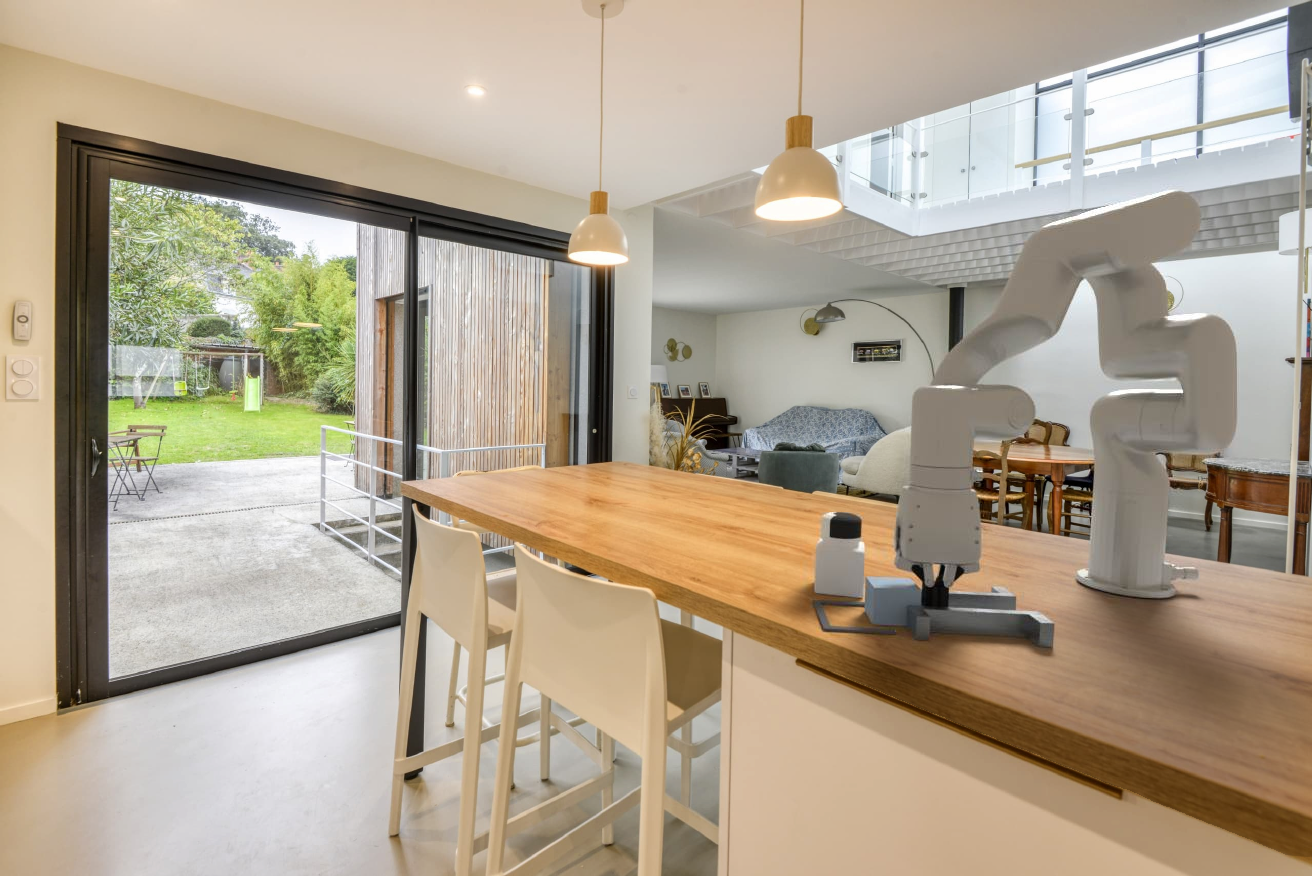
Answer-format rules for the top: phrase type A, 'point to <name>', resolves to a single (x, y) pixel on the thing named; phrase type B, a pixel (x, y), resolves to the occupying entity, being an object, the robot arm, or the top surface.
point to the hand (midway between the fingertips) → (934, 612)
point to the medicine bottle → (840, 556)
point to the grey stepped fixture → (980, 617)
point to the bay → (827, 626)
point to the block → (890, 599)
